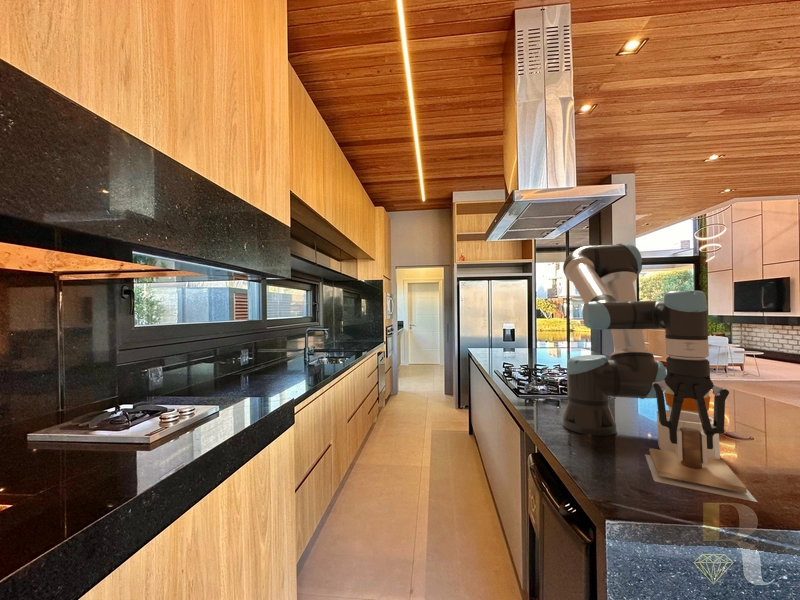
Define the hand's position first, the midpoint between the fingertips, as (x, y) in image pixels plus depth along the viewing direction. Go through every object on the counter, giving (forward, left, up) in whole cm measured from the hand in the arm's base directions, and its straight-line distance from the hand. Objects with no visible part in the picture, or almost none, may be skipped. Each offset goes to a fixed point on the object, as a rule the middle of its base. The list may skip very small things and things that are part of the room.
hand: (691, 459), depth 75 cm
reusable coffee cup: (+8, +49, -4) cm, 49 cm away
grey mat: (0, 0, -3) cm, 4 cm away
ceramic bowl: (+2, +16, -3) cm, 16 cm away
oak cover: (0, 0, -2) cm, 2 cm away
